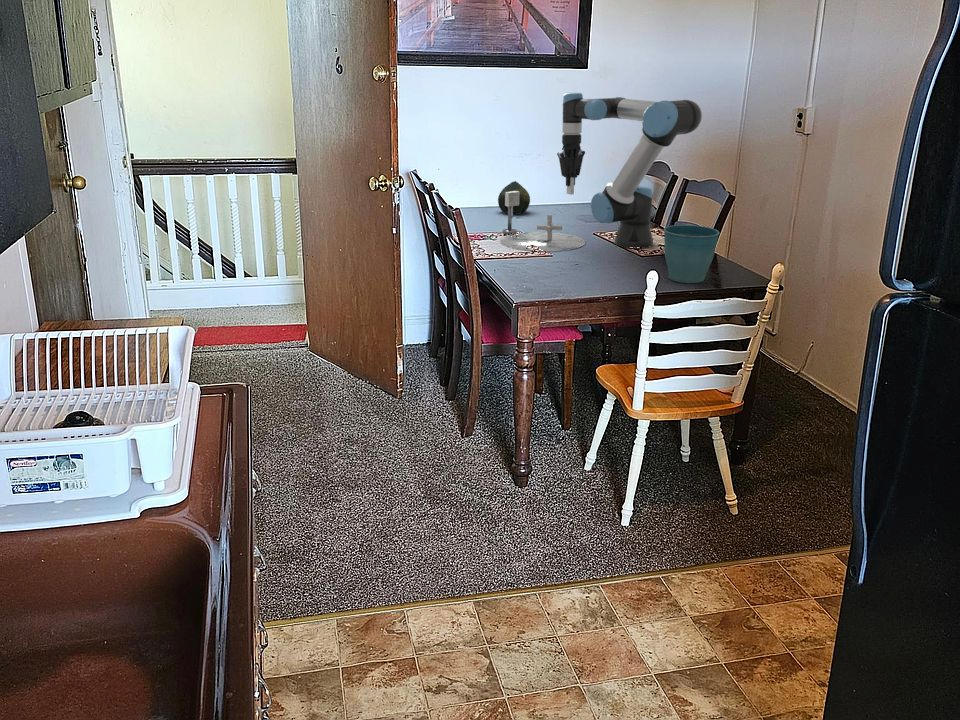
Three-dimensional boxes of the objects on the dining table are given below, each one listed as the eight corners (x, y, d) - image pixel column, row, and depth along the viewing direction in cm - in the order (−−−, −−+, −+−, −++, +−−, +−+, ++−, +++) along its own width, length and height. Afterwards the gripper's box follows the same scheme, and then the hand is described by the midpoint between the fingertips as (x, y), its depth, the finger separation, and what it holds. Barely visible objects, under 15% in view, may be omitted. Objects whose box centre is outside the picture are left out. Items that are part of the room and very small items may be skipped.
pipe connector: (563, 237, 350) (563, 213, 347) (560, 242, 341) (560, 216, 338) (539, 237, 352) (539, 213, 349) (535, 241, 343) (535, 216, 340)
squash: (510, 205, 388) (525, 178, 391) (487, 202, 399) (502, 175, 401) (526, 223, 398) (541, 196, 401) (504, 219, 408) (518, 193, 411)
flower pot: (705, 272, 301) (710, 224, 295) (721, 286, 284) (726, 236, 278) (654, 272, 301) (658, 224, 295) (667, 286, 284) (671, 236, 278)
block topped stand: (519, 233, 360) (520, 191, 354) (508, 234, 356) (508, 193, 350) (510, 230, 364) (511, 189, 358) (499, 232, 361) (500, 191, 355)
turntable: (602, 244, 341) (603, 243, 341) (536, 255, 323) (536, 254, 323) (548, 229, 367) (548, 228, 367) (484, 239, 349) (484, 238, 349)
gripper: (578, 132, 343) (576, 191, 351) (552, 134, 336) (551, 194, 344) (590, 133, 338) (588, 193, 346) (565, 135, 331) (563, 196, 339)
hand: (570, 193), depth 345 cm, fingers closed
